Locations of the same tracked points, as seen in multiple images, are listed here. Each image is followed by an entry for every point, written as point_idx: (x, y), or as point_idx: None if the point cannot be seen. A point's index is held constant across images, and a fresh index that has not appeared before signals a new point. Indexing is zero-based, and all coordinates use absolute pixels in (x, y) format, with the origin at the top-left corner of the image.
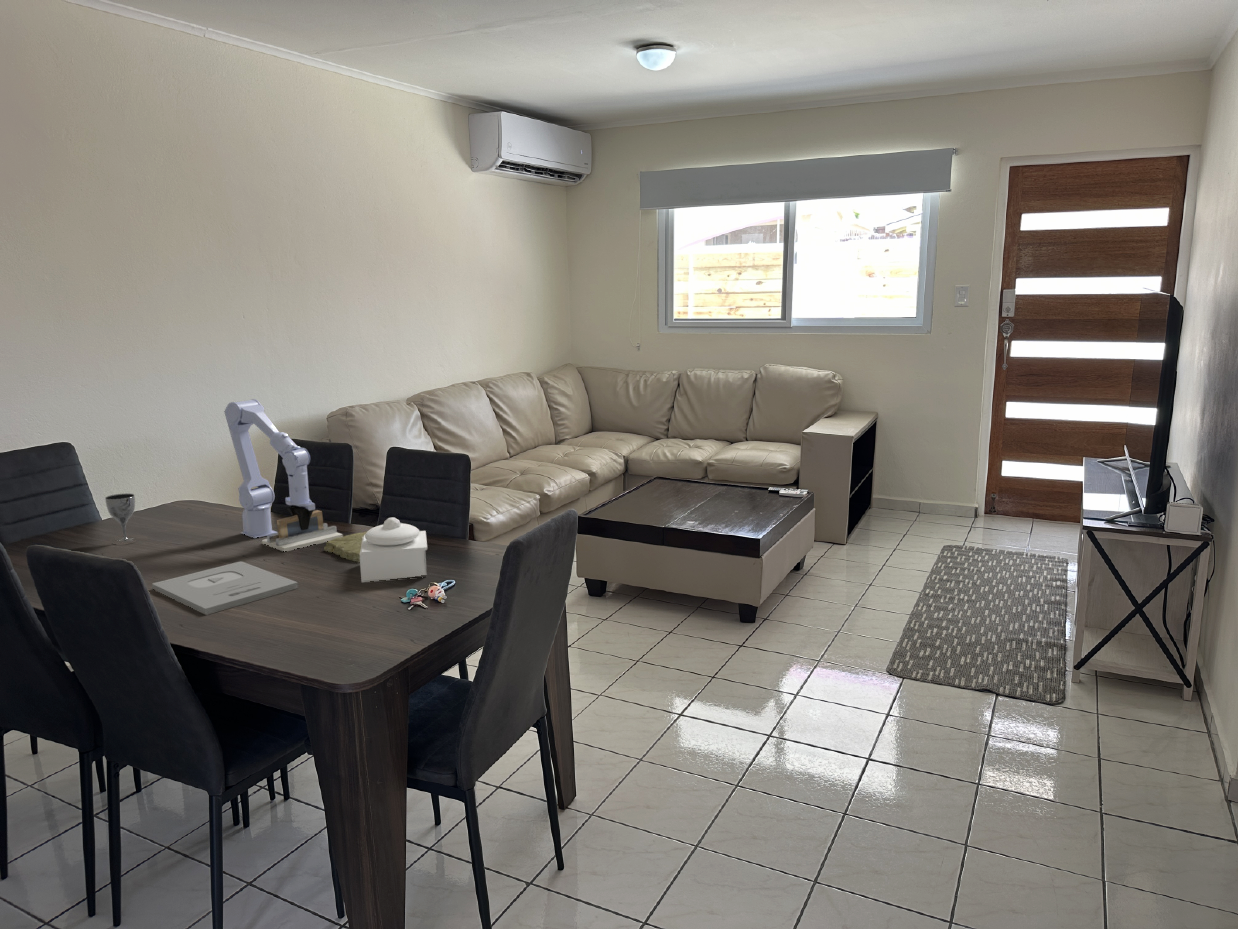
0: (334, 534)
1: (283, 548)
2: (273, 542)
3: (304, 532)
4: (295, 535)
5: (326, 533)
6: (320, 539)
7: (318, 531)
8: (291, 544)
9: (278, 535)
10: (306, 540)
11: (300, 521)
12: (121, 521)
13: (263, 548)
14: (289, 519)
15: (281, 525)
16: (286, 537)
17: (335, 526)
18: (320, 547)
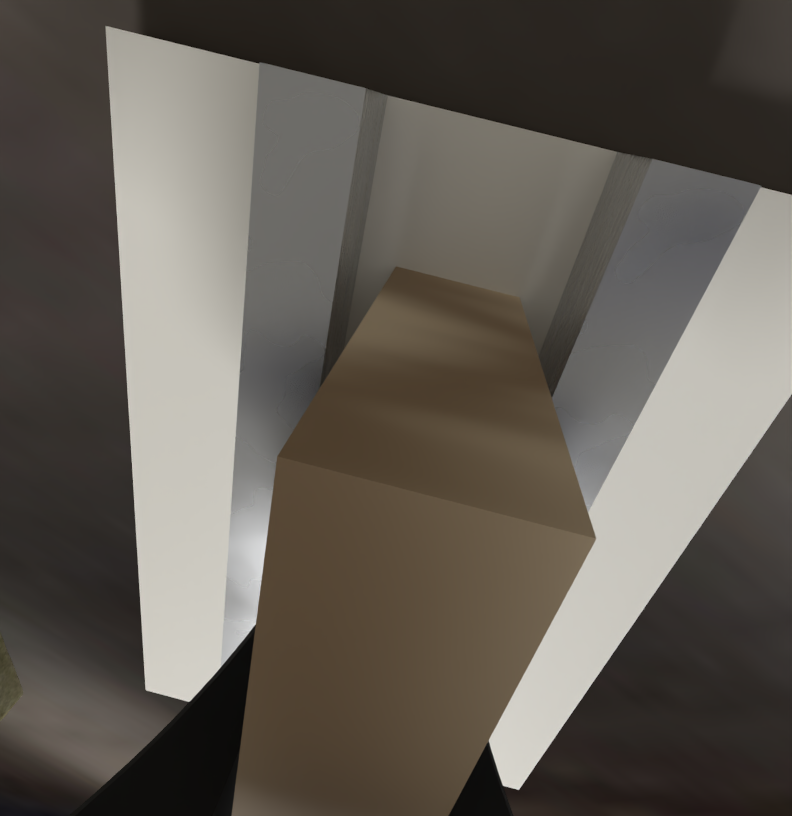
0: (197, 674)
1: (142, 36)
2: (570, 207)
3: None
4: (258, 431)
5: None
6: (141, 538)
7: (224, 649)
8: (219, 258)
9: (568, 354)
10: (228, 466)
11: (197, 707)
12: None
13: (648, 5)
14: (250, 676)
15: (320, 387)
16: (279, 288)
17: None
18: (27, 410)
